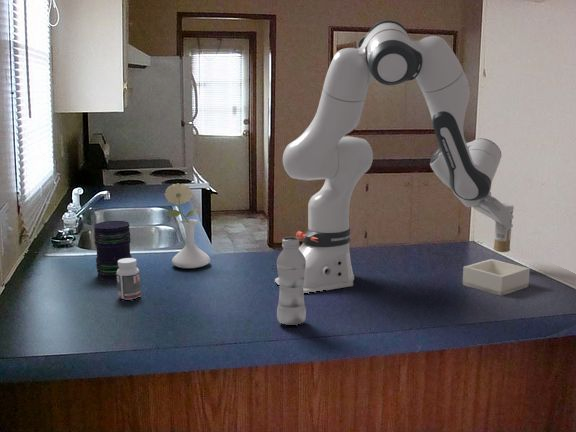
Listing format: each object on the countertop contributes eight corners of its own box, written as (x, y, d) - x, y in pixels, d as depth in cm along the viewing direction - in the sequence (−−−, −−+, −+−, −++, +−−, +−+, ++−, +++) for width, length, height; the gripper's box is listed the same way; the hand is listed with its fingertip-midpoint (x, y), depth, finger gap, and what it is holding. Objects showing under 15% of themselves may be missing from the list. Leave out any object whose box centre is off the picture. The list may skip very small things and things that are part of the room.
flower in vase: (215, 261, 205) (212, 180, 199) (204, 272, 194) (200, 186, 188) (174, 260, 207) (170, 179, 202) (161, 270, 196) (156, 186, 191)
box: (500, 296, 170) (501, 277, 169) (462, 284, 179) (463, 266, 178) (528, 286, 177) (529, 268, 176) (490, 276, 186) (491, 258, 185)
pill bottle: (145, 295, 174) (143, 258, 172) (133, 302, 169) (131, 264, 167) (126, 293, 176) (123, 256, 174) (113, 300, 171) (111, 262, 169)
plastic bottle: (275, 319, 156) (274, 235, 151) (304, 318, 156) (304, 234, 152) (277, 329, 149) (276, 242, 145) (308, 328, 150) (307, 241, 146)
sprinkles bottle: (513, 251, 190) (517, 204, 187) (502, 253, 188) (506, 206, 185) (500, 247, 194) (503, 201, 191) (489, 249, 192) (493, 203, 188)
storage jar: (100, 282, 185) (96, 229, 182) (94, 273, 194) (90, 222, 191) (136, 277, 189) (132, 226, 186) (129, 268, 198) (126, 219, 195)
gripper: (498, 190, 176) (530, 225, 179) (468, 177, 195) (498, 209, 199) (480, 207, 176) (513, 242, 179) (453, 193, 196) (483, 224, 199)
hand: (505, 225), depth 189 cm, fingers closed on sprinkles bottle, 4 cm apart
